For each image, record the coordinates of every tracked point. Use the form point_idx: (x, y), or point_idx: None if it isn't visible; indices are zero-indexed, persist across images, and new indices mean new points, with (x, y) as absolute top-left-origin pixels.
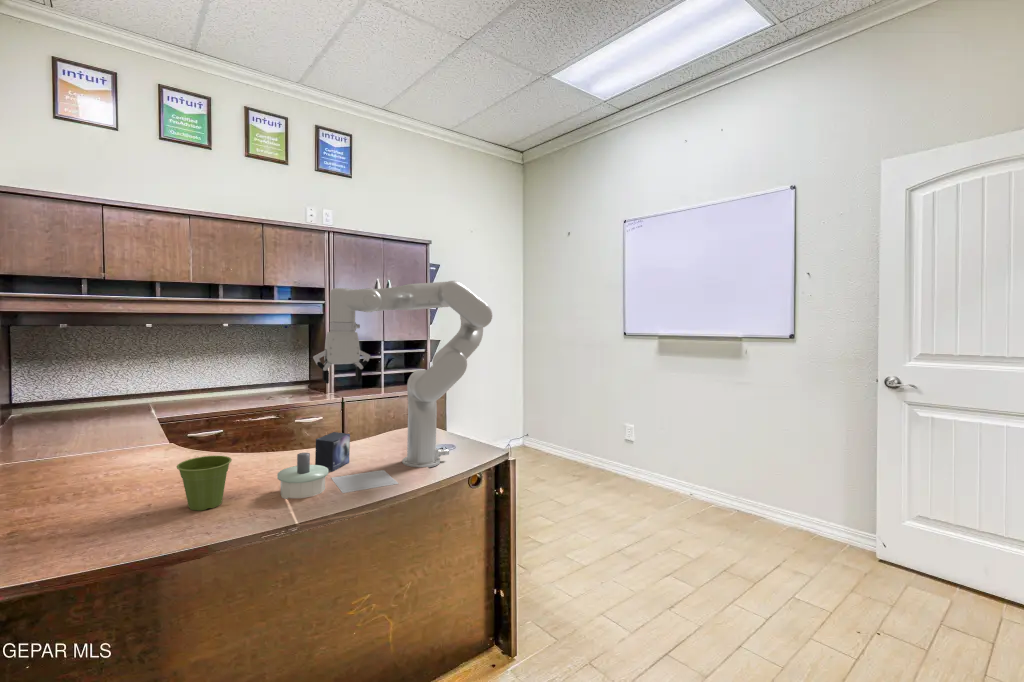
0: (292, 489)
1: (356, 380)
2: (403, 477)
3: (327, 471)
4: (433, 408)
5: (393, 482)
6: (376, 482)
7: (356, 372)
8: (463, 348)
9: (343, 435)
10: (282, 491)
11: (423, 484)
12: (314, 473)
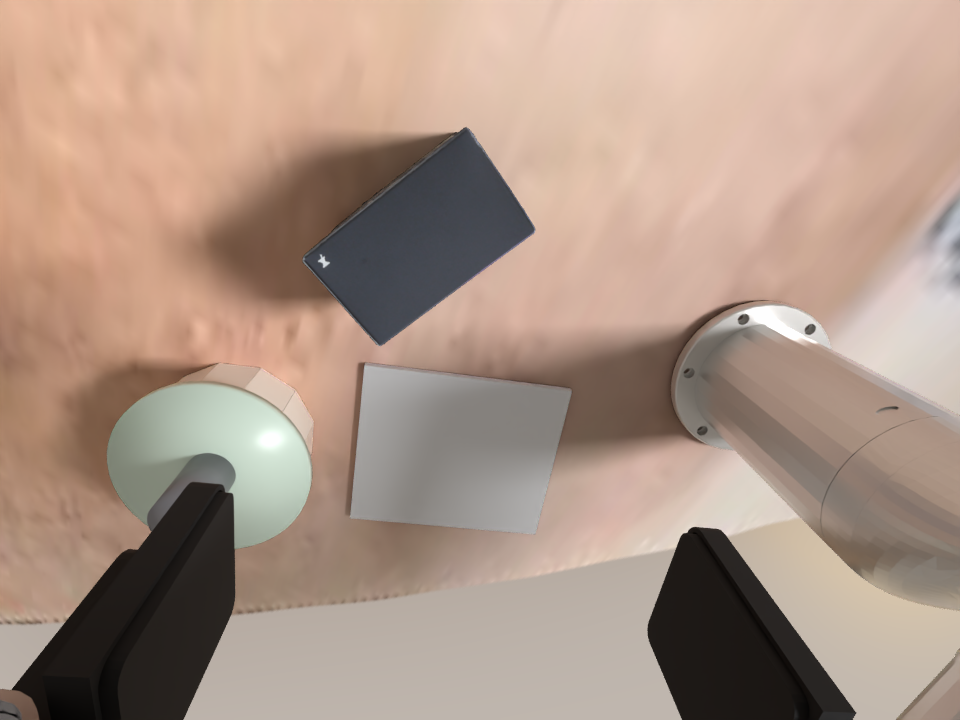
0: None
1: (669, 577)
2: (590, 475)
3: (298, 511)
4: None
5: (526, 519)
6: (481, 492)
7: (733, 692)
8: None
9: (481, 256)
10: None
11: (599, 556)
12: (247, 509)
